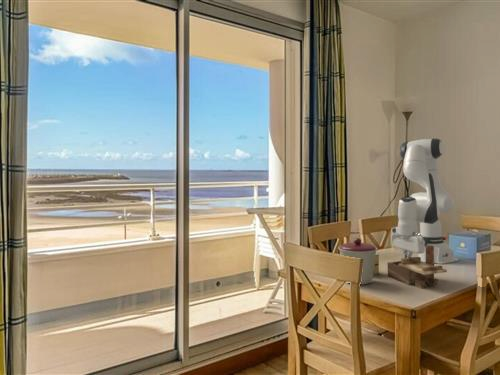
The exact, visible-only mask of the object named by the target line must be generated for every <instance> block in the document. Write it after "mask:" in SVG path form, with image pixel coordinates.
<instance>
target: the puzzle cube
mask: <svg viewBox="0 0 500 375" xmlns="http://www.w3.org/2000/svg"><path fill="white" fill-rule="evenodd" d="M379 263H380V254H378V253H376V257H375V266H374V273H373V276H376V275H377V274H379V273H380V267H379V266H380V264H379Z"/></svg>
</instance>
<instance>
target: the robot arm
mask: <svg viewBox="0 0 500 375" xmlns="http://www.w3.org/2000/svg"><path fill="white" fill-rule="evenodd" d="M443 151H444V145H443V142H442V140H441V139H439V138H434V137H433V138H423V139H422V138H420V139H416V140H412V141H404V142H402V144H400V147H399V154H400V158H401V159H403V164H402V165H403V167H402V168H403V169H402V172H403V175H404V177H405V178H407V180H409V181H411V182H413V183H415V184H418V185H419V186H421V187H422V188H423V189H425V191H426V192H425V191H420V192H414V193H412V194H411V195H410V196H405V197H401V198H399V201H398V207H397V214H396V215H397V218H398V223H397V226H395V227H391V228H390V229H391V230H390V232H391V235H390V236H391V238H390V239H391V240H390V241H391V246H392V247H393V248H397V249H399V250H401V252H402V254H403V258H411V257H412V255H413V254H417V257H421V262H423V263H426V245H431V246H434V264H439V265H443V264H450V263H454V262H457V261H459V258H457V257H456V256H454V255H455V254H454V250H453V248H452V247H450V246H449V245H447V244H446V243H445V242H446V241H448V237H447V236H442V223H441V221H440V214H441V213H450V212H452V210H453V209H454V208H455V200H454V197H453V196H452V195H451V194H449V192H448V191H447V190H446V189H444V187H443V185H442V182H441V178H440V172H439V164H438V158H441V156H442V155H443ZM418 223H419V224H418ZM418 225H419V232H418Z"/></svg>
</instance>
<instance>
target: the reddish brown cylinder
mask: <svg viewBox="0 0 500 375" xmlns="http://www.w3.org/2000/svg"><path fill="white" fill-rule="evenodd" d="M425 263H426V264H429V265H432V266H435V263H434V246H431V245H426V262H425ZM431 278H434V279H435V274H431Z"/></svg>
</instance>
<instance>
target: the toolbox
mask: <svg viewBox="0 0 500 375" xmlns="http://www.w3.org/2000/svg"><path fill="white" fill-rule="evenodd" d="M399 263H401V260H398V261H388V262H387V277H388V278H390V279H393V280H396V281H398V282H401V283H403V284H405V285H407V286H412V285H414V287H416V288H419V289H425V286H426V284H427V285H428V286H432V287H434V288H435V287H438V286H439V285H438V284H439V283H438V282H439V279H437V278H435V277H434V278H431V274H427V275H424V274H421V273H418V272H415V271H412V270H409V269H407V268H404V267H401V266H398V264H399Z"/></svg>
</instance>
